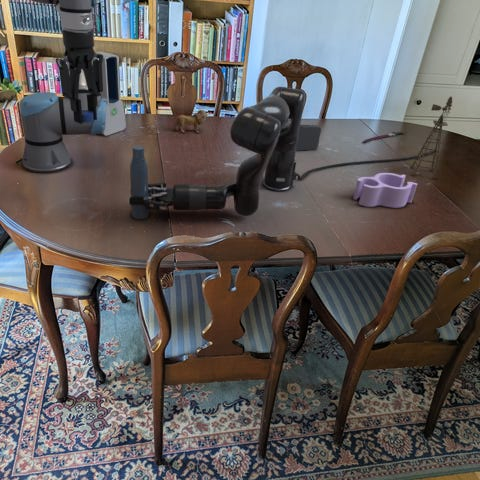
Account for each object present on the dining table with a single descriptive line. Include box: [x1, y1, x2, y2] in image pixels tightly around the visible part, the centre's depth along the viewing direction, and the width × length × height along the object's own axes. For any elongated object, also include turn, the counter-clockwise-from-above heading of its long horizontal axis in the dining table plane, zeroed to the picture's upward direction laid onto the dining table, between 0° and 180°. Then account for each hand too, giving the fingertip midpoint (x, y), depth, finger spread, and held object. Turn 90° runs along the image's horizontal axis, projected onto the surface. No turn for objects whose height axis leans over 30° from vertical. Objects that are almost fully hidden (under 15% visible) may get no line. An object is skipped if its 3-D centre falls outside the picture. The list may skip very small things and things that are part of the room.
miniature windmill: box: [410, 96, 453, 179], centre depth 175 cm, size 9×8×30 cm
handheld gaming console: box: [296, 124, 322, 151], centre depth 189 cm, size 23×3×10 cm, turn 108°
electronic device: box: [95, 51, 127, 137], centre depth 182 cm, size 12×8×30 cm, turn 148°
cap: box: [82, 110, 94, 122], centre depth 129 cm, size 4×4×2 cm
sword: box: [363, 131, 407, 144], centre depth 214 cm, size 31×3×1 cm, turn 126°
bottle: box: [129, 144, 150, 220], centre depth 131 cm, size 5×5×21 cm
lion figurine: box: [171, 109, 207, 134], centre depth 196 cm, size 15×5×9 cm, turn 110°
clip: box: [352, 172, 418, 209], centre depth 158 cm, size 20×12×7 cm, turn 109°
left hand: (85, 120), depth 130 cm, fingers closed on cap, 4 cm apart
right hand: (130, 196), depth 133 cm, fingers closed on bottle, 5 cm apart
